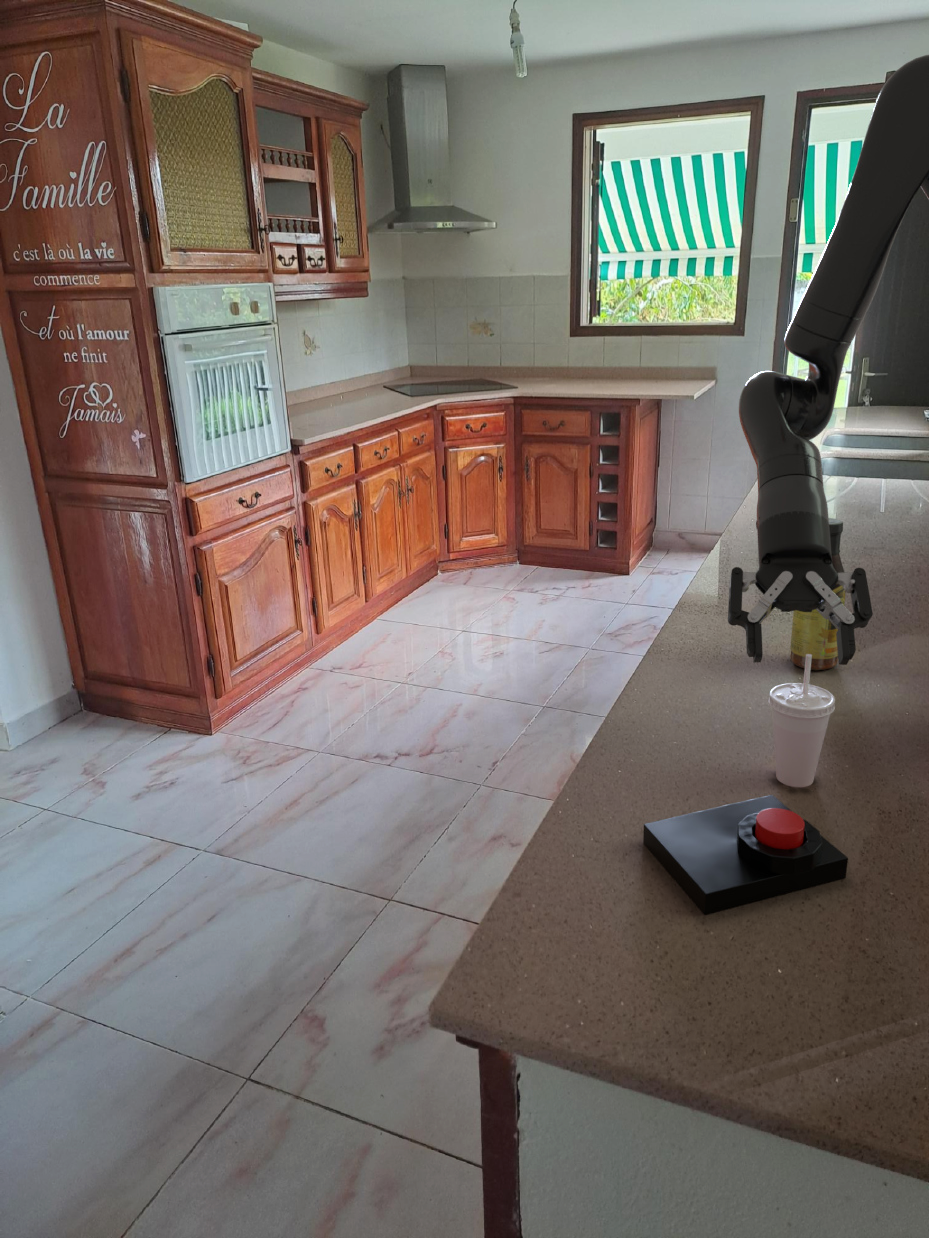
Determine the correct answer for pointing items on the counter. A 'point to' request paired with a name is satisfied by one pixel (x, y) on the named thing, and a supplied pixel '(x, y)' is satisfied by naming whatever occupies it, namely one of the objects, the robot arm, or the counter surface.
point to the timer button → (779, 828)
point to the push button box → (738, 856)
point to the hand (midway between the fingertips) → (801, 661)
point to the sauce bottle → (819, 620)
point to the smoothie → (799, 728)
